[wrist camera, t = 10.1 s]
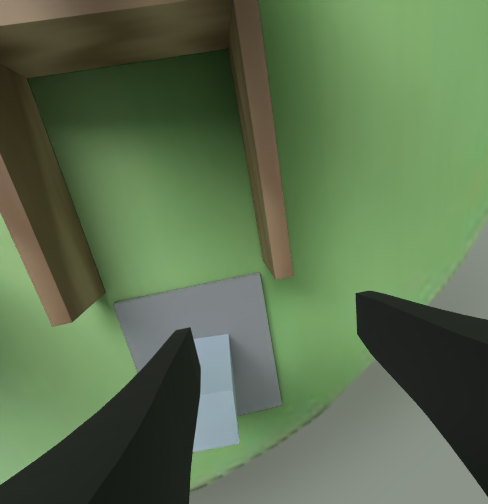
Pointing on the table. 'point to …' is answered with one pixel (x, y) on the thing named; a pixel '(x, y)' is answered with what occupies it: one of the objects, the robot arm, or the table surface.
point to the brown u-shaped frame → (103, 55)
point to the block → (216, 395)
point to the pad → (211, 331)
